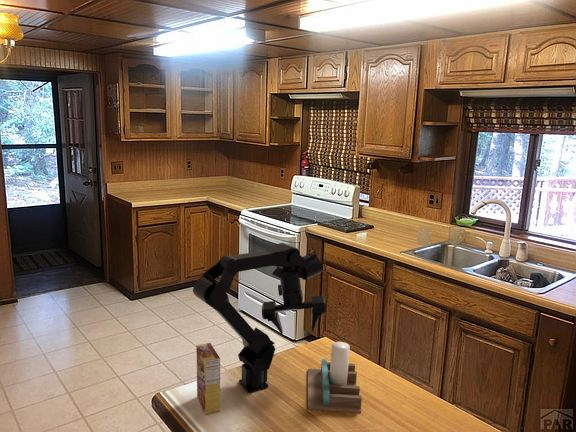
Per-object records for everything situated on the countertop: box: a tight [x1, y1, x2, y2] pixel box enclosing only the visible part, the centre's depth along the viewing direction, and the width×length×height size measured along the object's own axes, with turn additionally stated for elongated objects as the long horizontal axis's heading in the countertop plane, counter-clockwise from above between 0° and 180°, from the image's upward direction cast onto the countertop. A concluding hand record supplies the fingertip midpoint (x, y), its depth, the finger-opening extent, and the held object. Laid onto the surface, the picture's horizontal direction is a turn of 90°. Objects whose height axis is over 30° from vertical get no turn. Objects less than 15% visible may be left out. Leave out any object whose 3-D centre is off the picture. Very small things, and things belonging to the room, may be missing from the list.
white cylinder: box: [329, 341, 351, 385], centre depth 131 cm, size 5×5×13 cm
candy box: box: [195, 342, 221, 415], centre depth 122 cm, size 9×4×15 cm, turn 25°
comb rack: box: [307, 358, 363, 414], centre depth 132 cm, size 20×14×5 cm
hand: (297, 332), depth 140 cm, fingers open, 9 cm apart
